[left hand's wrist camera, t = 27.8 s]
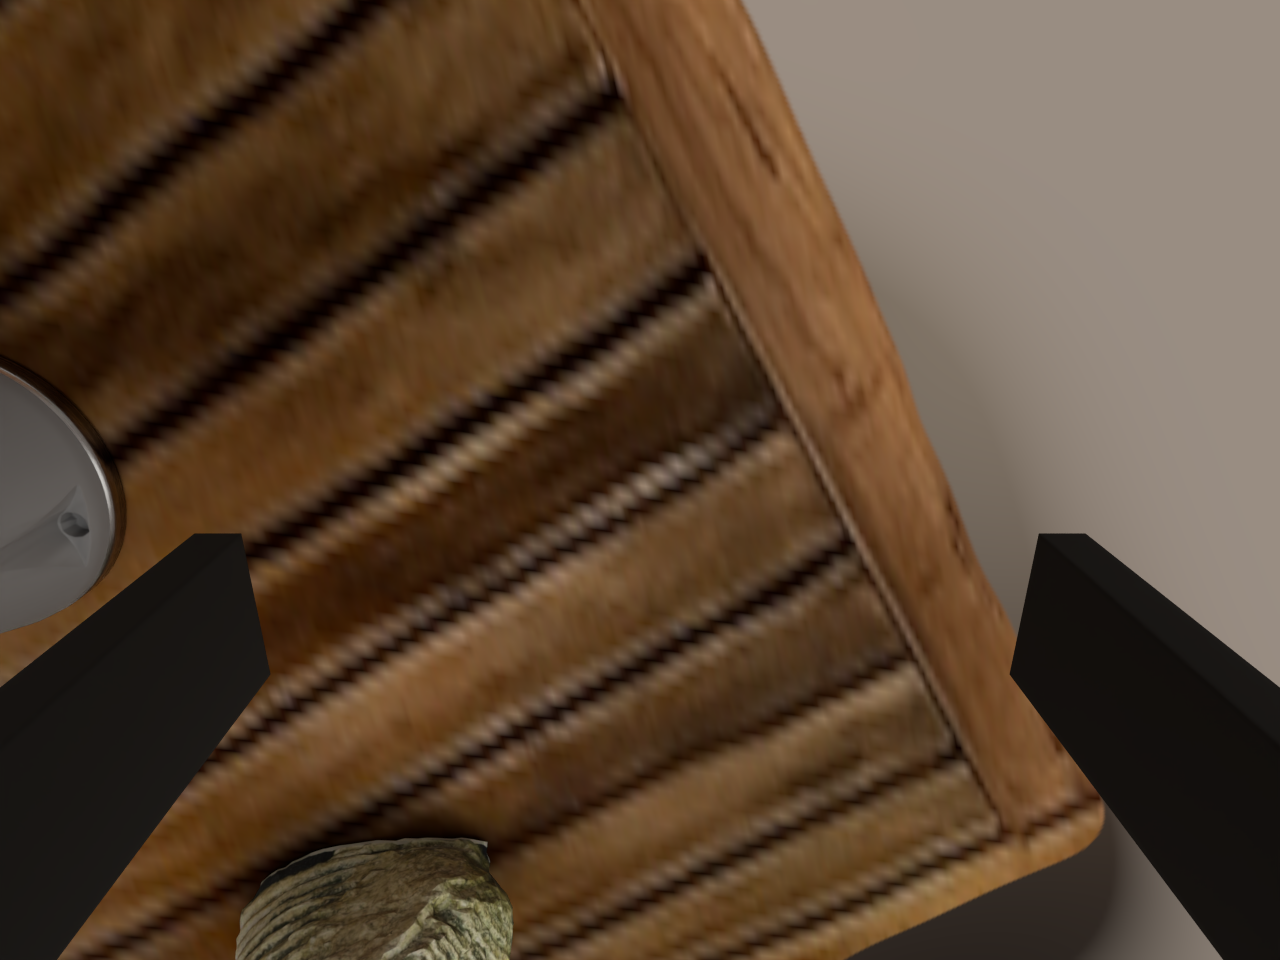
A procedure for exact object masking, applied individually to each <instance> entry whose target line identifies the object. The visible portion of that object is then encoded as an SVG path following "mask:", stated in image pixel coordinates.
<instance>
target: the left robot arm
mask: <svg viewBox="0 0 1280 960" xmlns="http://www.w3.org/2000/svg"><path fill="white" fill-rule="evenodd" d="M125 526H126V507H125V499H124V493H123V489H122V485H121V481H120V478H119V475H118V472H117V469H116V467H115V465H114V463H113V460H112V458H111V456H110V454H109V452H108V451H107V449H106V447H105V445H104V443H103V442H102V440H101V439H100V437H99V436H98V434H97V433H96V431H95V430H94V429H93V427H92V426H91V425H90V423H89V422H88V421H87V420H86V418H85V417H84V416H83V415H82V414H81V413H80V412H79V411H78V410H77V409H76V407H75V406H74V405H73V404H72V403H70V402H69V401H68V400H67V399H66V398H65V397H64V396H63V395H62V394H61V393H59V392H58V391H57V390H56V389H54V388H53V387H52V386H51V385H49V384H48V383H47V382H45V381H44V380H42V379H41V378H39V377H38V376H36V375H35V374H34V373H32V372H30V371H28V370H27V369H25V368H23V367H21V366H20V365H18V364H16V363H14V362H12V361H10V360H7V359H5V358H3V357H1V356H0V633H3V632H7V631H10V630H13V629H17V628H20V627H23V626H27V625H30V624H33V623H35V622H38V621H40V620H43V619H45V618H47V617H49V616H51V615H53V614H55V613H57V612H59V611H61V610H63V609H65V608H66V607H68V606H70V605H71V604H73V603H74V602H76V601H77V600H78V599H80V598H81V597H82V596H84V595H85V594H86V593H88V592H89V591H90V590H92V589H93V588H94V587H95V586H96V585H97V584H99V583H100V582H101V580H102V579H103V578H104V577H105V576H106V575H107V574H108V572H109V571H110V569H111V568H112V566H113V565H114V563H115V561H116V559H117V557H118V555H119V552H120V549H121V547H122V543H123V539H124V534H125ZM269 675H270V670H269V665H268V661H267V656H266V651H265V646H264V641H263V637H262V632H261V627H260V622H259V617H258V613H257V608H256V603H255V598H254V593H253V588H252V584H251V579H250V574H249V569H248V564H247V560H246V555H245V550H244V545H243V540H242V536H241V534H193V535H192V536H191V537H190V538H188V539H187V540H186V541H185V542H183V543H182V544H181V545H180V546H178V547H177V548H176V549H174V550H173V551H172V552H171V553H169V554H168V555H167V556H166V557H164V558H163V559H162V560H161V561H159V562H158V563H157V564H156V565H154V566H153V567H152V568H150V569H149V570H148V571H147V572H145V573H144V574H143V575H142V576H140V577H139V578H138V579H137V580H135V581H134V582H133V583H132V584H130V585H129V586H128V587H127V588H125V589H124V590H123V591H121V592H120V593H119V594H118V595H116V596H115V597H114V598H113V599H111V600H110V601H109V602H108V603H106V604H105V605H104V606H103V607H101V608H100V609H99V610H97V611H96V612H95V613H94V614H92V615H91V616H90V617H89V618H87V619H86V620H85V621H84V622H82V623H81V624H80V625H79V626H77V627H76V628H75V629H74V630H72V631H71V632H70V633H68V634H67V635H66V636H65V637H63V638H62V639H61V640H60V641H58V642H57V643H56V644H55V645H53V646H52V647H51V648H50V649H48V650H47V651H46V652H45V653H43V654H42V655H41V656H39V657H38V658H37V659H36V660H34V661H33V662H32V663H31V664H29V665H28V666H27V667H26V668H24V669H23V670H22V671H21V672H19V673H18V674H17V675H15V676H14V677H13V678H12V679H10V680H9V681H8V682H7V683H5V684H4V685H3V686H2V687H0V960H57V959H58V957H59V956H60V955H61V953H62V952H63V951H64V949H65V948H66V947H67V945H68V944H69V943H70V941H71V940H72V939H73V937H74V936H75V935H76V933H77V932H78V931H79V929H80V928H81V927H82V925H83V924H84V923H85V921H86V920H87V919H88V917H89V916H90V915H91V913H92V912H93V911H94V909H95V908H96V907H97V905H98V904H99V903H100V901H101V900H102V899H103V897H104V896H105V895H106V893H107V892H108V891H109V889H110V888H111V887H112V885H113V884H114V883H115V881H116V880H117V879H118V877H119V876H120V875H121V873H122V872H123V871H124V869H125V868H126V867H127V865H128V864H129V863H130V861H131V860H132V859H133V857H134V856H135V855H136V853H137V852H138V851H139V849H140V848H141V846H142V845H143V844H144V842H145V841H146V840H147V838H148V837H149V836H150V834H151V833H152V832H153V830H154V829H155V828H156V826H157V825H158V824H159V822H160V821H161V820H162V818H163V817H164V816H165V814H166V813H167V812H168V810H169V809H170V808H171V806H172V805H173V804H174V802H175V801H176V800H177V798H178V797H179V796H180V794H181V793H182V792H183V790H184V789H185V788H186V786H187V785H188V784H189V782H190V781H191V780H192V778H193V777H194V776H195V774H196V773H197V772H198V770H199V769H200V768H201V766H202V765H203V764H204V762H205V761H206V760H207V758H208V757H209V756H210V754H211V753H212V752H213V750H214V749H215V748H216V746H217V745H218V744H219V742H220V741H221V740H222V738H223V737H224V736H225V734H226V733H227V732H228V730H229V729H230V728H231V726H232V725H233V724H234V722H235V721H236V720H237V718H238V717H239V716H240V714H241V713H242V712H243V710H244V709H245V708H246V706H247V705H248V704H249V702H250V701H251V700H252V698H253V697H254V696H255V694H256V693H257V692H258V690H259V689H260V688H261V686H262V685H263V684H264V682H265V681H266V680H267V678H268V677H269ZM1010 675H1011V677H1012V678H1013V680H1014V681H1015V682H1016V684H1017V685H1018V686H1019V688H1020V689H1021V690H1022V692H1023V693H1024V694H1025V696H1026V697H1027V698H1028V700H1029V701H1030V702H1031V704H1032V705H1033V706H1034V708H1035V709H1036V710H1037V712H1038V713H1039V714H1040V716H1041V717H1042V718H1043V720H1044V721H1045V722H1046V724H1047V725H1048V726H1049V728H1050V729H1051V730H1052V732H1053V733H1054V734H1055V736H1056V737H1057V738H1058V740H1059V741H1060V742H1061V744H1062V745H1063V746H1064V748H1065V749H1066V750H1067V752H1068V753H1069V754H1070V756H1071V757H1072V758H1073V760H1074V761H1075V762H1076V764H1077V765H1078V766H1079V768H1080V769H1081V770H1082V772H1083V773H1084V774H1085V776H1086V777H1087V778H1088V780H1089V781H1090V782H1091V784H1092V785H1093V786H1094V788H1095V789H1096V790H1097V792H1098V793H1099V794H1100V796H1101V797H1102V798H1103V800H1104V801H1105V802H1106V804H1107V805H1108V806H1109V808H1110V809H1111V810H1112V812H1113V813H1114V814H1115V816H1116V817H1117V818H1118V820H1119V821H1120V822H1121V824H1122V825H1123V826H1124V828H1125V829H1126V830H1127V832H1128V833H1129V834H1130V836H1131V837H1132V838H1133V840H1134V841H1135V842H1136V844H1137V845H1138V846H1139V848H1140V849H1141V850H1142V852H1143V853H1144V855H1145V856H1146V857H1147V858H1148V860H1149V861H1150V862H1151V864H1152V865H1153V867H1154V868H1155V869H1156V871H1157V872H1158V873H1159V875H1160V876H1161V877H1162V879H1163V880H1164V881H1165V883H1166V884H1167V885H1168V887H1169V888H1170V889H1171V891H1172V892H1173V893H1174V895H1175V896H1176V897H1177V899H1178V900H1179V901H1180V903H1181V904H1182V905H1183V907H1184V908H1185V909H1186V911H1187V912H1188V913H1189V915H1190V916H1191V917H1192V919H1193V920H1194V921H1195V923H1196V924H1197V925H1198V927H1199V928H1200V929H1201V931H1202V932H1203V933H1204V935H1205V936H1206V937H1207V939H1208V940H1209V941H1210V943H1211V944H1212V945H1213V947H1214V948H1215V949H1216V951H1217V952H1218V953H1219V955H1220V956H1221V957H1222V959H1223V960H1280V687H1278V686H1277V685H1276V684H1275V683H1273V682H1272V681H1271V680H1270V679H1268V678H1267V677H1266V676H1265V675H1263V674H1262V673H1261V672H1259V671H1258V670H1257V669H1256V668H1254V667H1253V666H1252V665H1251V664H1249V663H1248V662H1247V661H1246V660H1244V659H1243V658H1242V657H1241V656H1239V655H1238V654H1237V653H1235V652H1234V651H1233V650H1232V649H1230V648H1229V647H1228V646H1227V645H1225V644H1224V643H1223V642H1222V641H1220V640H1219V639H1218V638H1217V637H1215V636H1214V635H1213V634H1212V633H1210V632H1209V631H1208V630H1206V629H1205V628H1204V627H1203V626H1201V625H1200V624H1199V623H1198V622H1196V621H1195V620H1194V619H1193V618H1191V617H1190V616H1189V615H1188V614H1186V613H1185V612H1184V611H1182V610H1181V609H1180V608H1179V607H1177V606H1176V605H1175V604H1174V603H1172V602H1171V601H1170V600H1169V599H1167V598H1166V597H1165V596H1164V595H1162V594H1161V593H1160V592H1159V591H1157V590H1156V589H1155V588H1153V587H1152V586H1151V585H1150V584H1148V583H1147V582H1146V581H1144V580H1143V579H1142V578H1141V577H1139V576H1138V575H1137V574H1136V573H1134V572H1133V571H1132V570H1131V569H1129V568H1128V567H1127V566H1126V565H1124V564H1123V563H1122V562H1121V561H1119V560H1118V559H1117V558H1116V557H1114V556H1113V555H1112V554H1111V553H1109V552H1108V551H1107V550H1105V549H1104V548H1103V547H1102V546H1100V545H1099V544H1098V543H1097V542H1095V541H1094V540H1093V539H1092V538H1090V537H1089V536H1088V535H1087V534H1039V536H1038V540H1037V545H1036V550H1035V555H1034V560H1033V564H1032V569H1031V574H1030V579H1029V584H1028V588H1027V593H1026V598H1025V603H1024V608H1023V613H1022V617H1021V622H1020V627H1019V632H1018V637H1017V641H1016V646H1015V651H1014V656H1013V661H1012V665H1011V670H1010Z"/></svg>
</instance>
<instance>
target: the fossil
mask: <svg viewBox="0 0 1280 960" xmlns="http://www.w3.org/2000/svg"><path fill="white" fill-rule="evenodd" d="M486 851H487V842H484V841H479V840H474V839H468V838H455V839H447V838H418V839H416V838H404V839H401V840H397V841H386V840H375V841H368V842H361V843H354V844H347V845H340V846H335V847H331V848H326V849H322V850H319V851H316V852H313V853H310V854H308V855H306V856H304V857H302V858H300V859H298V860H295V861H293V862H291V863H290V864H289V865H288V866H287V867H285V868H282V869H278V870H276V871H275V872H273V873H272V874H270V875H269V876H268V877H267V878H266V879H265V880H263V881H262V882H261V885H260V888H259V890H258V892H257V893H256V895H255V897H254V898H253V899H252V900H251V901H250V902H249V903H248V904H247V905H246V907H245V908H244V909H243V910H242V912H241V917H240V930H241V931H240V934H239V935H238V937H237V939H236V940H237V949H236V960H510V952H511V945H512V938H513V933H512V931H513V911H512V905H511V903H510V900H509V898H508V896H507V894H506V893H505V891H504V890H503V889H502V888H501V887H500V885H499V884H498V883H497V882H496V881H495V879H494V878H493V877H492V876H491V874H490V873H489V866H490V860H489V857H488V855H487V853H486Z"/></svg>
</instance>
